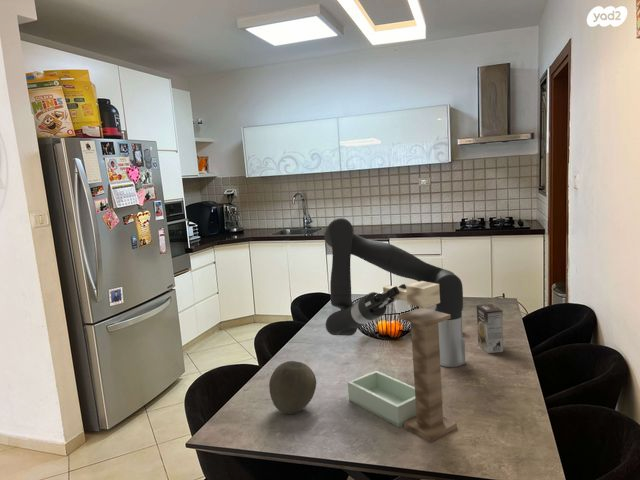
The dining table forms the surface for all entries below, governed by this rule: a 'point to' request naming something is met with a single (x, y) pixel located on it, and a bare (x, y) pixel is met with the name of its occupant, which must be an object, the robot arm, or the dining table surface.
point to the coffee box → (490, 328)
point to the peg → (418, 294)
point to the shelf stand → (427, 375)
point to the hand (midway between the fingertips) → (401, 288)
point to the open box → (384, 397)
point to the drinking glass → (401, 306)
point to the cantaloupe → (292, 386)
